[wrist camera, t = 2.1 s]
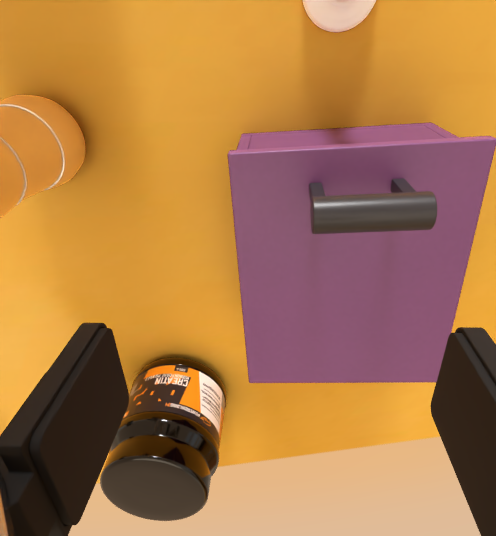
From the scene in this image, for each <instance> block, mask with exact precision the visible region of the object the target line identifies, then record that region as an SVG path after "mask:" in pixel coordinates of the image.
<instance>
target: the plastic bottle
mask: <svg viewBox="0 0 496 536" xmlns="http://www.w3.org/2000/svg"><path fill="white" fill-rule="evenodd" d="M85 152H86V147H85V140H84V137H83V133H82V131H81V129H80V127H79V125H78V124H77V122H76V121H75V119H74V118H73V117H72V116H71V114H70V113H69V112H68V111H67V110H66V109H64V108H63V107H62V106H61V105H59V104H58V103H56V102H54V101H52V100H50V99H47V98H45V97H41V96H35V95H14V96H10V97H7V98H5V99H3V100H1V101H0V218H1V217H3V216H4V215H5V214H6V213H8V212H9V211H10V210H11V209H12V208H14V207H15V206H16V205H18V204H19V203H20V202H21V201H23V200H24V199H26V198H29V197H31V196H33V195H35V194H37V193H39V192H41V191H44V190H48V189H52V188H55V187H57V186H60V185H62V184H64V183H66V182H68V181H70V180H71V179H72V178H73V177H74V176H75V175H76V173H77V172H78V170H79V169H80V167H81V165H82V164H83V161H84V158H85Z"/></svg>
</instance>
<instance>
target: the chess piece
mask: <svg viewBox="0 0 496 536" xmlns="http://www.w3.org/2000/svg"><path fill="white" fill-rule="evenodd" d="M375 2H376V0H303V5H304V8H305V10H306V13H307V14H308V16H309V18H310V19H311V20H312V22H313V23H314V24H316V25H317V26H318V27H320V28H321V29H323V30H326V31H329V32H343V31H347V30H349V29H352V28H353V27H355V26H357V25H358V24H359V23H361V22H362V21H363V20H364V19H365V18H366V17H367V15H368V14H369V13H370V11H371V10H372V8H373V6H374V4H375Z"/></svg>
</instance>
